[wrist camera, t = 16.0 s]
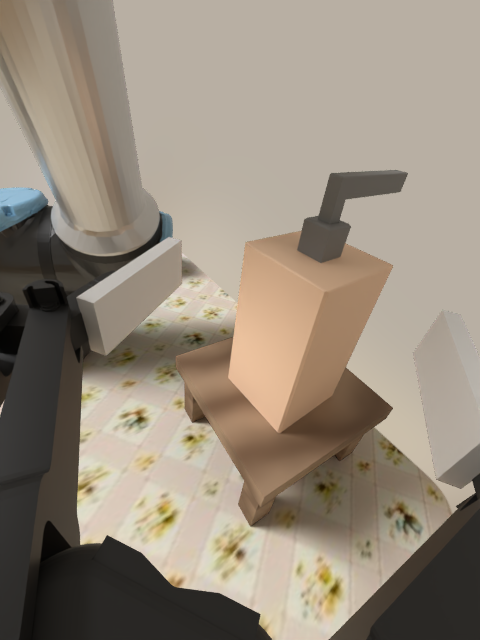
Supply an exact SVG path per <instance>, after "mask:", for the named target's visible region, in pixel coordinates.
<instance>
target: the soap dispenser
mask: <svg viewBox="0 0 480 640" xmlns="http://www.w3.org/2000/svg"><path fill="white" fill-rule="evenodd" d="M407 174H408V173H406V172H402V171H398V170H388V171H368V172H347V173H331V174H330V177H329V180H328V184H327V187H326V191H325V195H324V198H323V202H322V206H321V210H320V213H319V216H315V217H310V218H306V219H305V220H304V223H303V228H302V231H298V232H293V233H288V234H284V235H279V236H274V237H269V238H264V239H259V240H254V241H249V242H246V243H245V250H244V258H243V267H242V274H241V282H240V289H239V297H238V305H237V313H236V321H235V328H234V336H233V344H232V352H231V360H230V367H229V375H228V378H229V379H230V380H231V382H232V383H233V384H234V385H235V386H236V387H237V388H238V389H239V390H240V391H241V393H242V394H243V395H244V396H245V397H246V398H247V399H248V400H249V401H250V403H251V404H252V405H253V406H254V407H255V408H256V409H257V410H258V411H259V412H260V414H261V415H262V416H263V417H264V418H265V419H266V420H267V421H268V422H269V424H270V425H271V426H272V427H273V428H274V429H275V430H276V431H277V432H278V433H281V432H282V431H284V430H285V429H287V428H288V427H289V426H291V425H292V424H293V423H295V422H296V421H298V420H299V419H300V418H302V417H303V416H305V415H306V414H307V413H309V412H310V411H312V410H313V409H314V408H316V407H317V406H318V405H320V404H321V403H323V402H324V401H325V400H327V399H328V398H330V397H331V396H332V395H333V393H334V391H335V388H336V386H337V384H338V382H339V380H340V378H341V376H342V374H343V372H344V369H345V367H346V365H347V363H348V361H349V359H350V357H351V355H352V352H353V350H354V348H355V346H356V344H357V342H358V340H359V337H360V335H361V333H362V331H363V329H364V327H365V325H366V323H367V320H368V319H369V316H370V314H371V312H372V310H373V308H374V306H375V304H376V302H377V300H378V297H379V295H380V293H381V291H382V288H383V287H384V285H385V283H386V280H387V278H388V276H389V274H390V272H391V270H392V268H393V265H391V264H389V263H387V262H385V261H383V260H380V259H378V258H376V257H374V256H372V255H370V254H367V253H365V252H363V251H361V250H359V249H356V248H354V247H352V246H350V245H348V244H346V243H345V242H346V239H347V236H348V233H349V231H350V228H351V226H350V225H349V224H347V223H345V222H342V221H340V216H341V213H342V210H343V206H344V203H345V199H352V198H359V197H367V196H374V195H382V194H389V193H396V192H400V191H401V189H402V187H403V184H404V182H405V179H406V177H407Z"/></svg>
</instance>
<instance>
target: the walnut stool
mask: <svg viewBox="0 0 480 640" xmlns="http://www.w3.org/2000/svg"><path fill="white" fill-rule="evenodd" d="M232 344H233V337H231V338H228V339H225V340H222V341H219V342H216V343H213V344H210V345H207V346H204V347H201V348H198V349H195V350H192V351H189V352H186V353H183V354H180V355H177V356H176V368H177V370H178V372H179V373H180V375H181V377H182V378H183V380H184V382H185V410H186V412H187V414H188V416H189V417H190V419H191V421H192V422H194V421H196V420H199V419H201V418H203V417H205V416H206V418H207V420H208V421H209V423H210V425H211V426H212V428H213V430H214V431H215V433H216V435H217V436H218V438H219V439H220V441H221V443H222V444H223V446H224V448H225V449H226V451H227V453H228V454H229V456H230V458H231V459H232V461H233V463H234V464H235V466H236V468H237V469H238V471H239V472H240V474H241V476H242V477H243V479H244V484H243V488H242V492H241V496H240V500H239V503H238V505H239V507H240V509H241V510H242V512H243V514H244V516H245V518H246V519H247V521H248V523H249V525H250V526H252V525H253V524H255V523H256V522H257V521H259V520H260V519H261V518H263V517H264V516H265V515H267V514H268V513H269V511H270V509H271V506H272V504H273V502H274V499H275V497H276V496H277V495H278V494H280V493H281V492H283V491H284V490H285V489H287V488H288V487H290V486H291V485H292V484H294V483H295V482H297V481H298V480H300V479H301V478H302V477H304V476H305V475H307V474H308V473H309V472H311V471H312V470H314V469H315V468H317V467H318V466H319V465H321V464H322V463H324V462H325V461H327V460H328V459H329V458H331V457H332V456H334V455H335V456H336V457H337V458H338V459H339V461H341V460H342V459H343V458H345V457H346V456H348V455H349V454H350V453H352V452H353V450H354V449H355V447H356V446H357V444H358V442H359V441H360V439H361V438H362V436H363V435H364V434H365V433H366V432H368V431H369V430H370V429H372V428H373V427H375V426H376V425H377V424H379V423H380V422H382V421H383V420H384V419H386V418H387V416H388V415H389V413H390V412H391V410H392V409H393V408H392V407H391V406H390V405H389V404H388V403H387V402H385V401H384V400H383V399H382V398H381V397H380V396H378V395H377V394H376V393H375V392H374V391H373V390H372V389H370V388H369V387H368V386H367V385H366V384H365V383H363V382H362V381H361V380H360V379H359V378H357V377H356V376H355V375H354V374H353V373H352V372H350V371H349V370H348V369H347V368H346V367H345V369H344V372H343V374H342V376H341V378H340V380H339V382H338V384H337V386H336V388H335V391H334V393H333V395H332V396H331V397H330V398H328V399H327V400H325V401H324V402H323V403H321V404H320V405H318V406H317V407H316V408H314V409H313V410H312V411H310V412H309V413H307V414H306V415H305V416H303V417H302V418H300V419H299V420H298V421H296V422H295V423H293V424H292V425H291V426H289V427H288V428H287V429H285V430H284V431H282V432H281V433H278V432H277V431H276V430H275V429H274V428H273V427H272V426H271V425H270V424H269V422H268V421H267V420H266V419H265V418H264V417H263V416H262V415H261V414H260V412H259V411H258V410H257V409H256V408H255V407H254V406H253V405H252V404H251V403H250V401H249V400H248V399H247V398H246V397H245V396H244V395H243V394H242V393H241V391H240V390H239V389H238V388H237V387H236V386H235V385H234V384H233V383H232V382H231V380H230V379H229V378H228V375H229V367H230V360H231V352H232Z"/></svg>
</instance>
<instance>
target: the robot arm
mask: <svg viewBox="0 0 480 640" xmlns="http://www.w3.org/2000/svg"><path fill="white" fill-rule="evenodd" d="M0 88H1V90H2V92H3V94H4V96H5V98H6V100H7V102H8V104H9V106H10V108H11V110H12V112H13V114H14V116H15V118H16V120H17V122H18V124H19V126H20V129H21V130H22V132H23V135H24V137H25V139H26V140H27V143H28V144H29V147H30V149H31V151H32V153H33V154H34V157H35V159H36V160H37V163H38V165H39V167H40V169H41V171H42V173H43V175H44V177H45V179H46V181H47V183H48V185H49V187H50V189H51V191H52V193H53V195H54V197H55V199H56V201H55V203H54V205H53V206H48V205H47V204H48V199H46V197H45V196H44V194H43V193H42V192H41V191H39V190H34V189H32V188H3V189H0V407H1V405H2V403H3V402H4V404H3V408H2V412H1V415H0V640H272V639H271V638H270V636H269V635H268V634H267V632H266V631H265V630H264V629H263V628H262V627H261V626H260V625H259V619H260V614H259V613H257V612H255V611H253V610H251V609H249V608H247V607H245V606H243V605H241V604H239V603H237V602H235V601H234V600H232V599H230V598H228V597H226V596H224V595H222V594H220V593H214V592H206V591H199V590H191V589H184V588H177V587H174V586H172V585H171V584H170V583H169V582H168V581H167V580H166V579H165V578H164V577H163V575H162V574H161V573H160V572H159V571H158V570H157V569H156V568H155V567H154V566H153V565H152V564H151V563H150V562H149V560H148V559H147V558H146V557H145V556H144V555H143V554H142V553H141V552H139V551H137V550H135V549H133V548H131V547H129V546H127V545H125V544H123V543H121V542H119V541H117V540H115V539H113V538H111V537H109V536H108V535H107V536H106V538H105V540H104V541H103V543H102V544H100V543H94V544H84V545H80V531H79V524H78V518H77V490H78V466H79V442H80V418H81V395H82V371H83V358H84V357H85V356H86V355H87V354H88V353H89V351H90V350H91V351H94V352H97V353H99V354H102V355H105V356H107V355H108V354H109V353H110V352H111V351H112V350H113V349H114V348H115V347H116V346H117V345H118V344H119V343H120V342H121V341H123V340H124V339H125V338H126V337H127V336H128V335H129V334H130V333H131V332H132V331H133V330H134V329H135V328H136V327H137V326H138V325H139V324H140V323H141V322H142V321H144V320H145V319H146V318H147V317H148V316H149V315H150V314H151V313H152V312H153V311H154V310H155V309H156V308H157V307H158V306H159V305H160V304H161V303H162V302H163V301H165V300H166V299H167V298H168V297H169V296H170V295H171V294H172V293H173V292H174V291H175V290H176V289H177V288H178V287H179V286H180V285H181V284H182V248H181V247H182V246H181V245H182V244H181V240H178V239H174V238H172V233H173V225H172V218H171V216H170V215H169V214H165V213H163V212H160V211H159V209H158V206H157V203H156V202H155V200H154V198H153V197H152V196H151V195H150V194H149V193H148V192H147V191H146V190H145V189H143V188H142V184H141V177H140V171H139V165H138V159H137V152H136V146H135V139H134V133H133V126H132V120H131V114H130V107H129V101H128V95H127V88H126V82H125V76H124V70H123V63H122V57H121V50H120V44H119V38H118V32H117V25H116V19H115V12H114V6H113V0H0ZM413 356H414V361H415V366H416V372H417V377H418V382H419V388H420V394H421V399H422V405H423V410H424V415H425V421H426V426H427V432H428V437H429V443H430V448H431V454H432V459H433V464H434V470H435V475H436V480H439V481H441V482H444V483H447V484H449V485H452V486H455V487H458V488H460V489H461V488H463V487H464V486H465V485H467V484H468V483H470V482H471V481H473V485H474V488H475V492H476V493H475V494H474V495H472V496H470V497H469V498H467V499H466V500H464V501H463V502H462V503H460V504H459V505H457V506H456V507H457V508H458V509H457V510H456V511H455V512H454V513H453V514H452V515H451V516H450V517H449V518H448V519H447V520H446V521H445V522H444V523H443V525H442V526H441V527H440V528H439V529H438V530H437V531H436V532H435V533H434V534H433V535H432V536H431V537H430V538H429V539H428V540H427V541H426V542H425V543H424V544H423V545H422V546H421V547H420V548H419V549H418V550H417V551H416V552H415V553H414V554H413V555H412V556H411V557H410V558H409V559H408V560H407V561H406V562H405V563H404V564H403V565H402V566H401V567H400V568H399V569H398V570H397V571H396V572H395V573H394V574H393V575H392V576H391V577H390V578H389V579H388V580H387V581H386V582H385V583H384V584H383V585H382V586H381V587H380V588H379V589H378V590H377V592H376V593H375V594H374V595H373V596H372V597H371V598H370V599H369V600H368V601H367V602H366V603H365V604H364V605H363V606H362V607H361V608H360V609H359V610H358V611H357V612H356V613H355V614H354V615H353V616H352V617H351V618H350V619H349V620H348V621H347V622H346V623H345V624H344V625H343V626H342V627H341V628H340V629H339V630H338V631H337V632H336V633H335V634H334V635H333V636H332V637H331V638H330V639H329V640H480V357H479V354H478V352H477V350H476V348H475V345H474V343H473V341H472V339H471V337H470V334H469V332H468V330H467V328H466V325H465V323H464V321H463V319H462V316H461V315H460V314H457V313H453V312H449V311H445V310H442V311H441V313H440V314H439V315H438V317H437V318H436V320H435V321H434V323H433V324H432V326H431V327H430V329H429V330H428V332H427V333H426V335H425V336H424V338H423V339H422V341H421V342H420V344H419V345H418V346H417V348H416V350H415V351H414V352H413ZM4 400H5V401H4Z"/></svg>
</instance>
